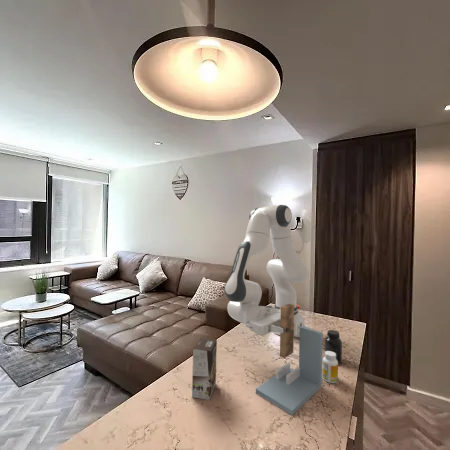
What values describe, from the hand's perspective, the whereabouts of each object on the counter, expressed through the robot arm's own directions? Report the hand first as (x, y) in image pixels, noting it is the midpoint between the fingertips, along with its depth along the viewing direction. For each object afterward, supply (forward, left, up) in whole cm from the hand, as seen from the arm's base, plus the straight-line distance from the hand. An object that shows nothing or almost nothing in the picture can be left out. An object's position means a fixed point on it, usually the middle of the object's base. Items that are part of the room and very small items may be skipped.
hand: (289, 327), depth 93 cm
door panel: (0, -1, -10) cm, 10 cm away
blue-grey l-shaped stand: (+4, +3, -20) cm, 20 cm away
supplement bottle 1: (-28, +5, -20) cm, 35 cm away
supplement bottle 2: (-13, +10, -20) cm, 26 cm away
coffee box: (+26, -17, -20) cm, 37 cm away
